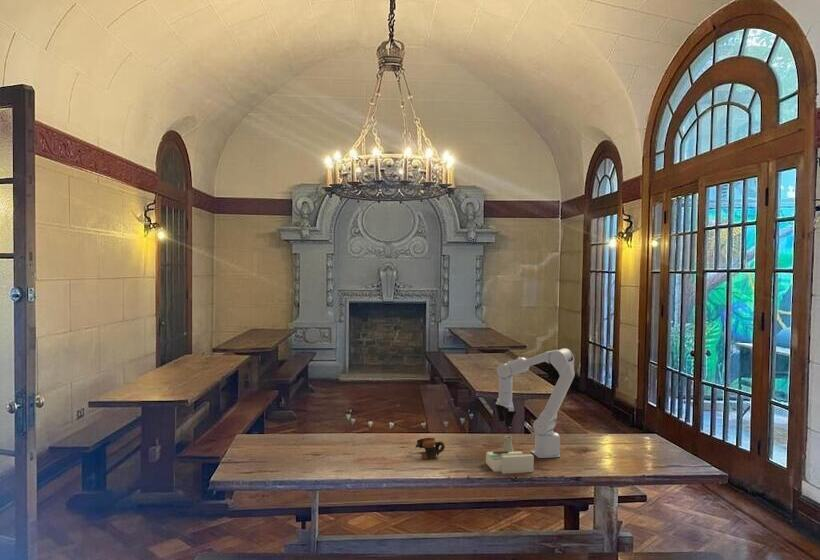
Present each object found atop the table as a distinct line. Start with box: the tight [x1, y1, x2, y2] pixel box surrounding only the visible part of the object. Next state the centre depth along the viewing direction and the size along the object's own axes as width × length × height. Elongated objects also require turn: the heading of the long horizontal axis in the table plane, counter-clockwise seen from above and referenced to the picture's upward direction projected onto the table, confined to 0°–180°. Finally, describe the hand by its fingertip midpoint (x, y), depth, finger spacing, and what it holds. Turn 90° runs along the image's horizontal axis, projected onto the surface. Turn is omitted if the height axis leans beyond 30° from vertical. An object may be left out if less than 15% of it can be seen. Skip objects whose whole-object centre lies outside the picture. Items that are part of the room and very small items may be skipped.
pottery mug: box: [415, 437, 446, 460], centre depth 232 cm, size 12×10×8 cm
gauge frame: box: [485, 450, 535, 475], centre depth 220 cm, size 14×12×6 cm
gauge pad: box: [493, 450, 524, 456], centre depth 221 cm, size 12×2×6 cm, turn 102°
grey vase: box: [500, 435, 515, 457], centre depth 225 cm, size 7×7×10 cm
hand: (504, 423), depth 245 cm, fingers open, 7 cm apart
